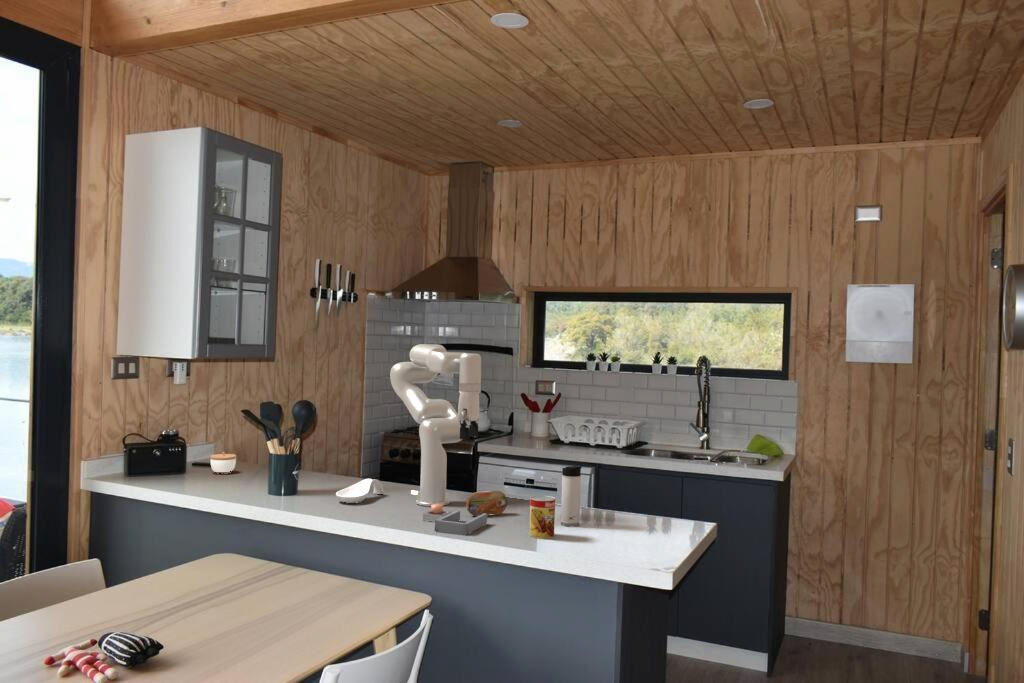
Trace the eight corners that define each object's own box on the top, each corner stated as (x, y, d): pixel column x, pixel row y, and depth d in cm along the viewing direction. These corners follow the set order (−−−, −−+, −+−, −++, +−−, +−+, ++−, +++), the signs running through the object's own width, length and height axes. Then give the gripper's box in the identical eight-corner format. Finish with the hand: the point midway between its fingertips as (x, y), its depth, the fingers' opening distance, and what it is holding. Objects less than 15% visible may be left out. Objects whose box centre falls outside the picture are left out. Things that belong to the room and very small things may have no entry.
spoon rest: (355, 507, 292) (356, 487, 292) (329, 503, 296) (329, 484, 296) (391, 496, 313) (392, 477, 313) (366, 493, 318) (366, 475, 318)
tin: (468, 517, 279) (469, 493, 279) (464, 515, 282) (465, 491, 282) (507, 514, 286) (507, 490, 286) (503, 512, 289) (503, 489, 289)
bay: (434, 531, 257) (434, 520, 257) (456, 520, 274) (456, 510, 274) (466, 535, 254) (466, 524, 254) (486, 524, 270) (487, 513, 270)
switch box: (422, 520, 272) (422, 513, 272) (431, 516, 278) (432, 509, 278) (441, 523, 269) (441, 515, 269) (450, 518, 276) (450, 511, 276)
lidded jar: (230, 470, 360) (231, 449, 360) (239, 474, 351) (240, 452, 351) (206, 472, 353) (206, 451, 353) (215, 476, 344) (215, 454, 344)
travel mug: (574, 527, 268) (576, 467, 268) (557, 525, 271) (559, 465, 271) (583, 524, 273) (585, 465, 273) (566, 521, 277) (567, 463, 277)
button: (428, 513, 273) (429, 505, 273) (434, 510, 276) (434, 503, 276) (439, 514, 271) (439, 506, 271) (444, 511, 275) (444, 504, 275)
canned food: (552, 539, 251) (553, 501, 251) (527, 537, 253) (528, 499, 253) (555, 533, 259) (556, 496, 259) (531, 532, 260) (532, 494, 260)
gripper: (468, 387, 292) (467, 434, 292) (451, 389, 276) (450, 439, 276) (487, 388, 290) (487, 435, 290) (471, 390, 274) (471, 440, 273)
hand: (469, 437), depth 283 cm, fingers open, 9 cm apart
